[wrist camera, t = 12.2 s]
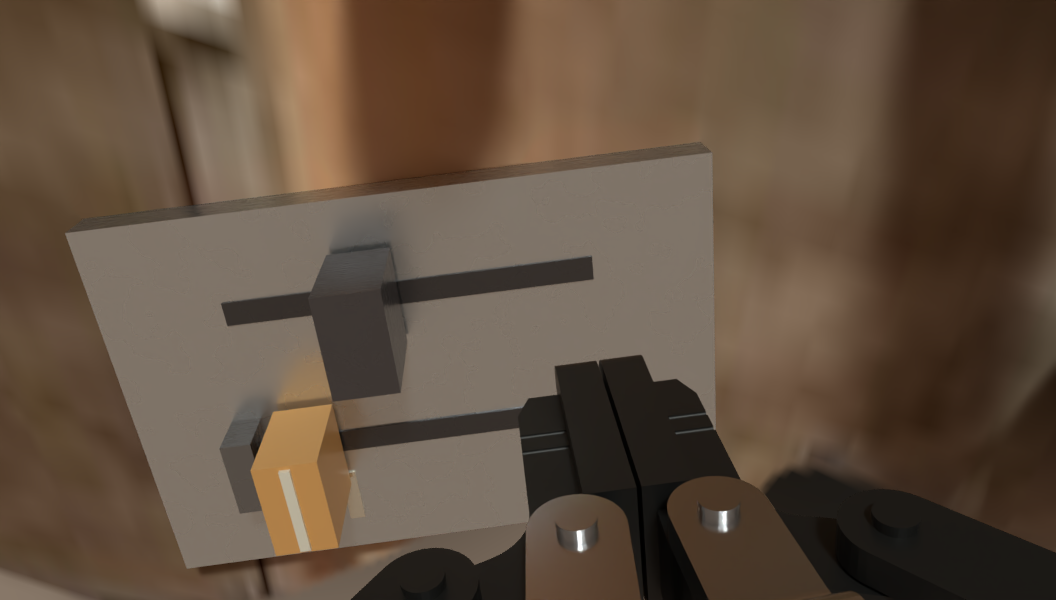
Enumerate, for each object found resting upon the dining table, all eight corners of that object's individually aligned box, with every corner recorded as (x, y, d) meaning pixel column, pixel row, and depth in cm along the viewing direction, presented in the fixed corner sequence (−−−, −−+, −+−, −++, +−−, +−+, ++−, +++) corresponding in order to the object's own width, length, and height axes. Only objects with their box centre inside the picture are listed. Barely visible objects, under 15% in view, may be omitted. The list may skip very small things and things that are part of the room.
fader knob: (332, 404, 42) (315, 464, 37) (351, 483, 44) (338, 550, 39) (273, 411, 42) (249, 473, 37) (295, 490, 44) (275, 559, 39)
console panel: (700, 142, 40) (749, 185, 33) (706, 475, 48) (746, 563, 42) (83, 219, 39) (5, 279, 33) (197, 544, 48) (154, 645, 41)
